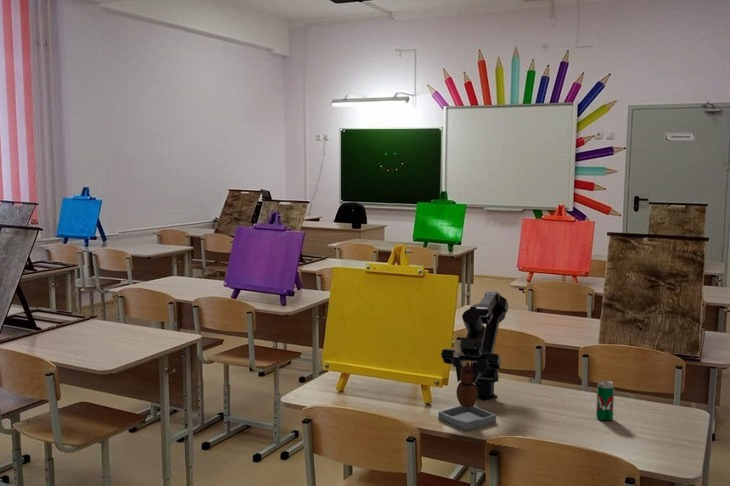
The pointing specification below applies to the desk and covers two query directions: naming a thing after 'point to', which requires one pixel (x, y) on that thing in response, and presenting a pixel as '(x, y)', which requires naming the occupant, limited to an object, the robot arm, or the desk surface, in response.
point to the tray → (467, 417)
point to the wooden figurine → (467, 387)
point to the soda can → (605, 400)
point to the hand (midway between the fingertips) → (466, 382)
